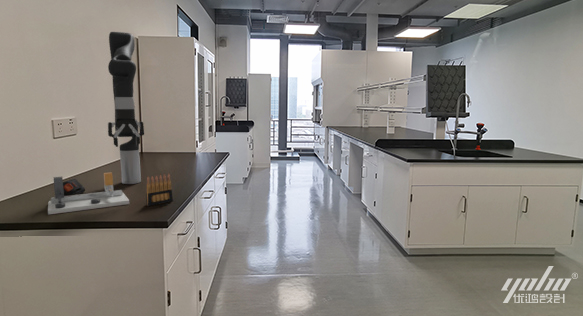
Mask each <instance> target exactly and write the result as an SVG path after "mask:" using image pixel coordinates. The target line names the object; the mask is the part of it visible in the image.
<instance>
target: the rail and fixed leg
mask: <svg viewBox="0 0 583 316" xmlns="http://www.w3.org/2000/svg"><path fill="white" fill-rule="evenodd" d="M63 179H64V178H63V176H53V185H54V186H53V188H54V197H50V201H51V204H52V203H62V202H69V201H78V200H86V199H95V198H103V197H111V196H110V192H105V191H100V192H89V193H81V194H79V195H70V196H64V190H63V182H64V180H63ZM122 193H123V190H122V189H117V190H113V196H120V195H122Z"/></svg>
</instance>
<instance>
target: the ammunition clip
mask: <svg viewBox="0 0 583 316" xmlns="http://www.w3.org/2000/svg"><path fill="white" fill-rule="evenodd" d="M171 181H172V180H171V175H170V173H167V176H166V174H165V173H164V174H163V177H162V175H161V174H159V178H158V175H155V177H154V176H153V175H151V178H150V177H149V176H147V178H146V194H145V195H146V198H145V199H146V201H145V203H146V205H147V206H149V207H150V206H155V205H161V204H165V203H166V204H167V203H171V202H173V201H174V197H173V189H172V182H171Z"/></svg>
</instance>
